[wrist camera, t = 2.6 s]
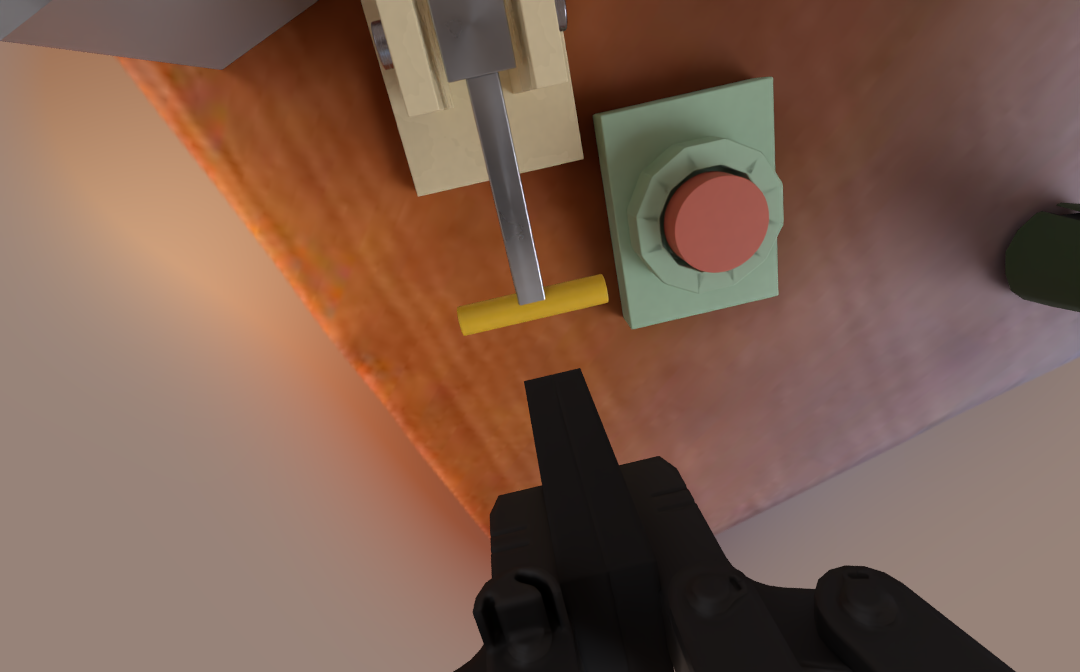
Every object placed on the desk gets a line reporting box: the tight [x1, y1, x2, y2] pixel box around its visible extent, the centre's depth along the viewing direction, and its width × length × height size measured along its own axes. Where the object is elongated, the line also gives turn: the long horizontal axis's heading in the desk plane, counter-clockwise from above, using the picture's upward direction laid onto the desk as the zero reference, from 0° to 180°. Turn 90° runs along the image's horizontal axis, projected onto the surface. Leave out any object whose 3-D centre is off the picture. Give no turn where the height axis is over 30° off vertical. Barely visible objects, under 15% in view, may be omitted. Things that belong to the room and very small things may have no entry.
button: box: [664, 171, 769, 273], centre depth 28 cm, size 5×5×2 cm
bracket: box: [361, 0, 584, 196], centre depth 22 cm, size 12×9×13 cm
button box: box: [593, 77, 783, 329], centre depth 30 cm, size 12×9×4 cm
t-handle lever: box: [427, 0, 608, 336], centre depth 20 cm, size 12×6×2 cm, turn 12°
